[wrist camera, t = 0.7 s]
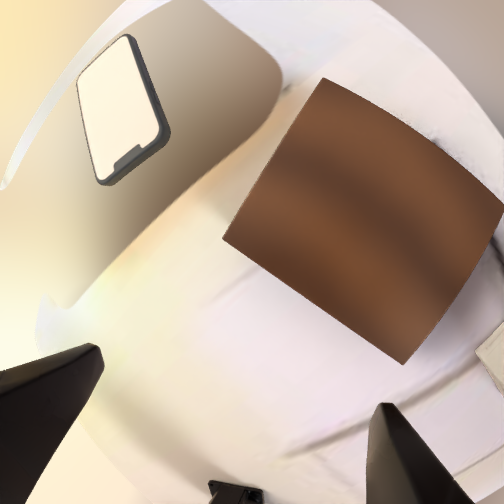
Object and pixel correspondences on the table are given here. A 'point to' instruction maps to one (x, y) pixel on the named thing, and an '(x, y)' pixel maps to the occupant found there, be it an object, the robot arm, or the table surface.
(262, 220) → the block
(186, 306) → the table surface
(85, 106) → the white smartphone
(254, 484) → the table surface
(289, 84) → the table surface
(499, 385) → the white packaging box
